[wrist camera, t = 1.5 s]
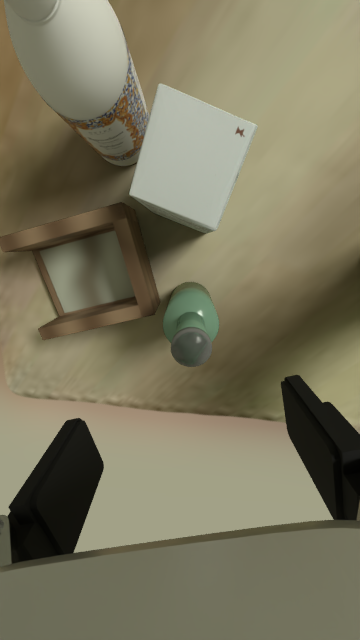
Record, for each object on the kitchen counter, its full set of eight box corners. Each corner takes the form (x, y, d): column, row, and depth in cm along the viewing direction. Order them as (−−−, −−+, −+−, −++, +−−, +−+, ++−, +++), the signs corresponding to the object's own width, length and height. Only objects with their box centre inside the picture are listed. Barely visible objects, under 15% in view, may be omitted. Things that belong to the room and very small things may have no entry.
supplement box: (172, 147, 27) (158, 74, 15) (231, 173, 28) (263, 122, 16) (151, 213, 30) (125, 194, 18) (206, 236, 30) (217, 232, 18)
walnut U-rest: (134, 209, 30) (121, 202, 24) (160, 302, 33) (154, 314, 27) (32, 238, 31) (-4, 238, 25) (67, 323, 35) (43, 340, 29)
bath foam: (99, 172, 28) (-82, 31, 9) (84, 100, 26) (-187, -268, 7) (157, 162, 28) (89, -7, 9) (147, 88, 26) (28, -340, 7)
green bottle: (206, 277, 32) (219, 306, 18) (214, 316, 33) (233, 372, 19) (165, 287, 32) (147, 323, 18) (175, 325, 34) (166, 385, 20)
